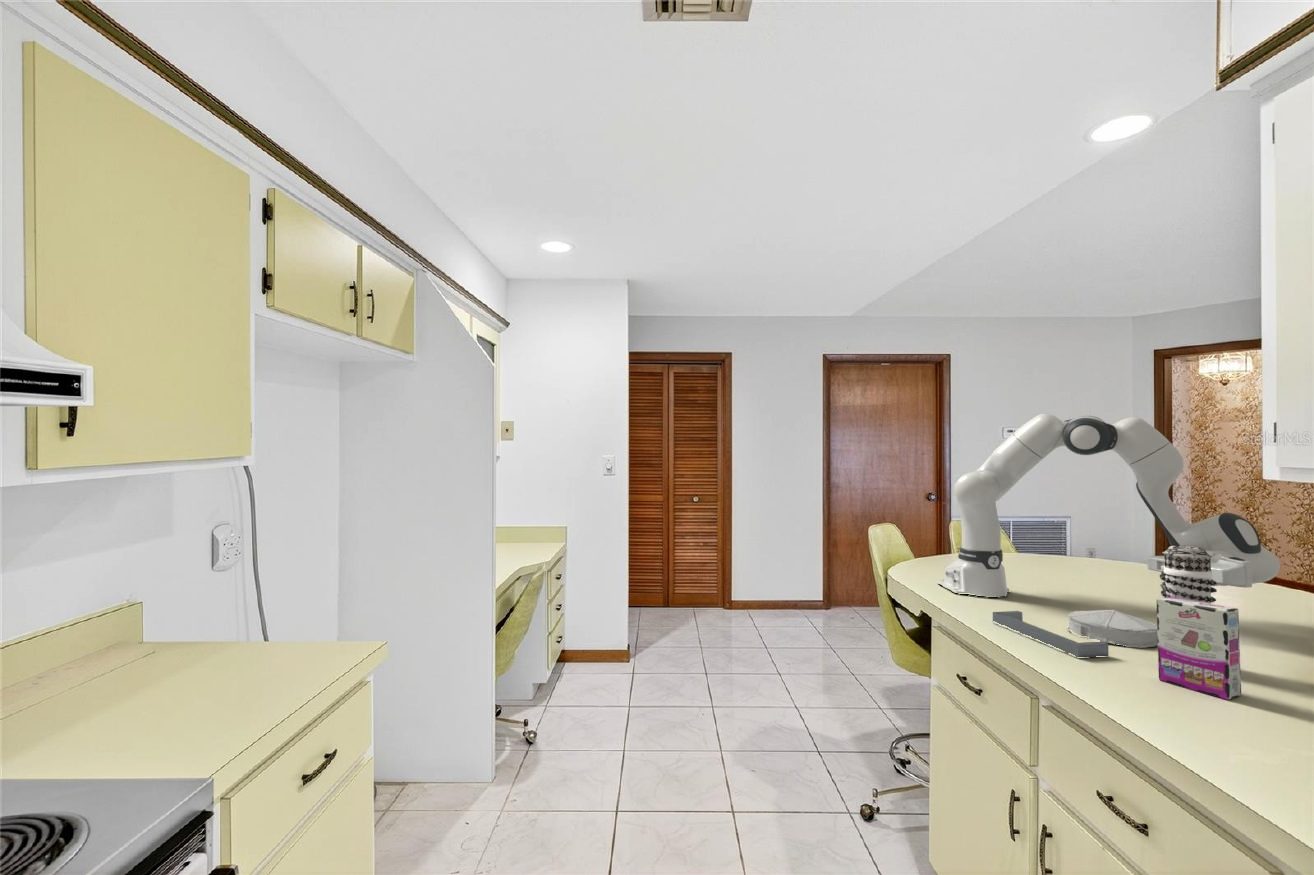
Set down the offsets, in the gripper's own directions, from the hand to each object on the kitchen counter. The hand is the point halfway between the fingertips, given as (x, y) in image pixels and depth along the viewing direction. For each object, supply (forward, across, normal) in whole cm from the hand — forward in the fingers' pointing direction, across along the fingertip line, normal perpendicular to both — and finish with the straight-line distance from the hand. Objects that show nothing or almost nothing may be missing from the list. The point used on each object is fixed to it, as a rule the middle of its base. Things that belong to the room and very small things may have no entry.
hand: (1166, 570), depth 149 cm
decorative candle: (+18, +20, +16) cm, 31 cm away
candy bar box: (+28, +30, +16) cm, 45 cm away
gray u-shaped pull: (+33, 0, +15) cm, 37 cm away
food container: (+15, 0, +16) cm, 22 cm away
